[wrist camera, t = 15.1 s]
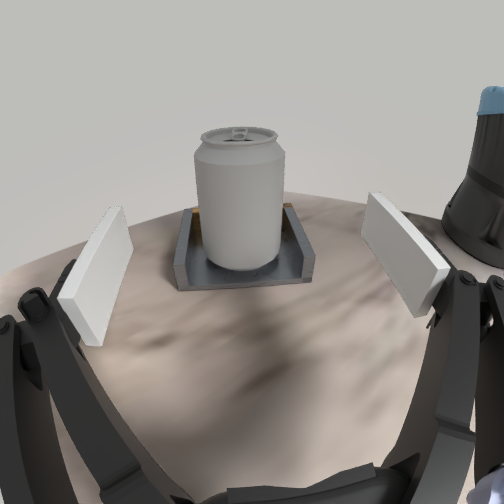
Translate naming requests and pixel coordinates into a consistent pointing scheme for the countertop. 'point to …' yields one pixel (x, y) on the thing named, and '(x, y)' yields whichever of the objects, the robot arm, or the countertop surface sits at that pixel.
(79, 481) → the countertop surface
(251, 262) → the can
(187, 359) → the countertop surface
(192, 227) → the open rectangular tray
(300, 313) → the countertop surface
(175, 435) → the countertop surface
